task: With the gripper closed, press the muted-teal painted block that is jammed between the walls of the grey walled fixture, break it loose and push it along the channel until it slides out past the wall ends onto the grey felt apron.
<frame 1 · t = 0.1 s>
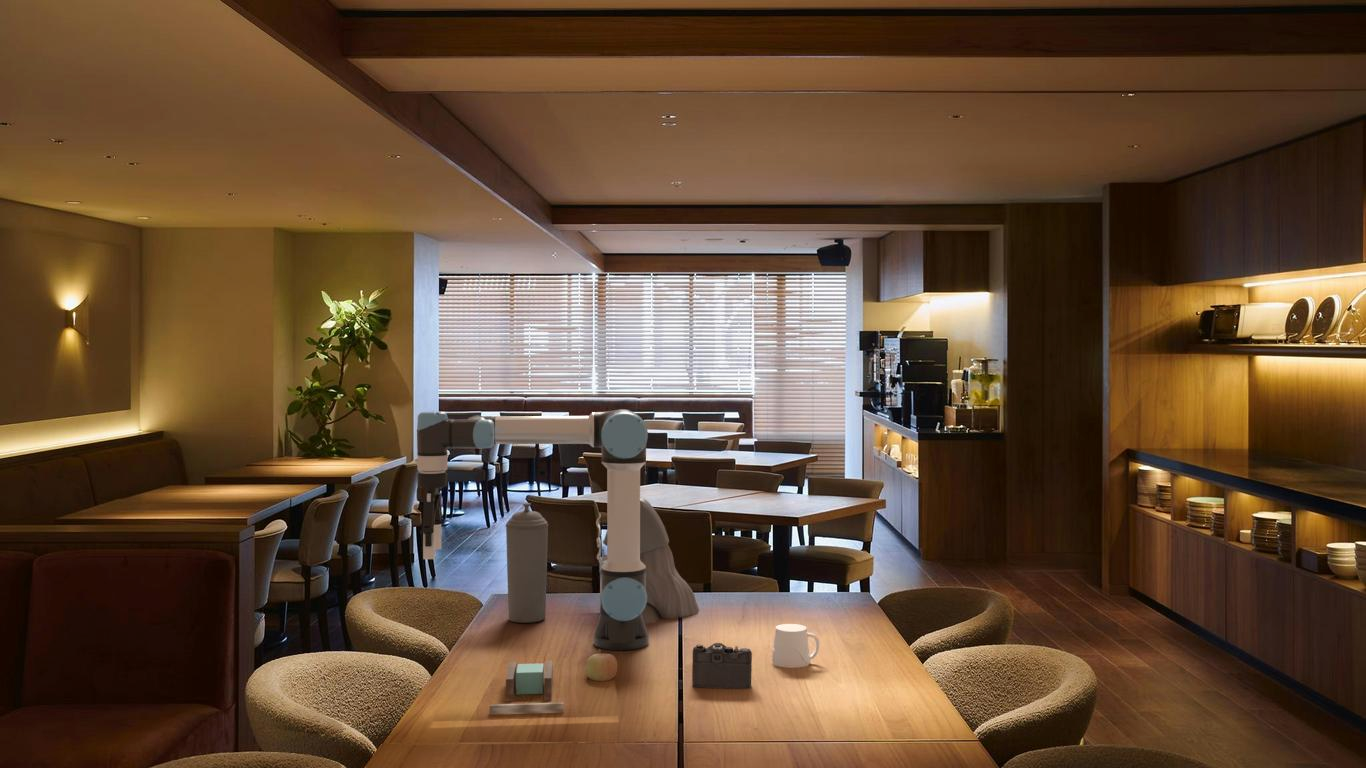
hand: (432, 554, 277), 28 cm above the table, fingers open, 13 cm apart
camera: (722, 683, 261), on the table
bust: (644, 610, 334), on the table
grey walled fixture: (529, 700, 246), on the table
block: (530, 678, 251), point 4 cm above the table, slide at 0.0 cm
canister: (527, 620, 322), on the table
mug: (795, 664, 277), on the table
fruit: (602, 682, 261), on the table
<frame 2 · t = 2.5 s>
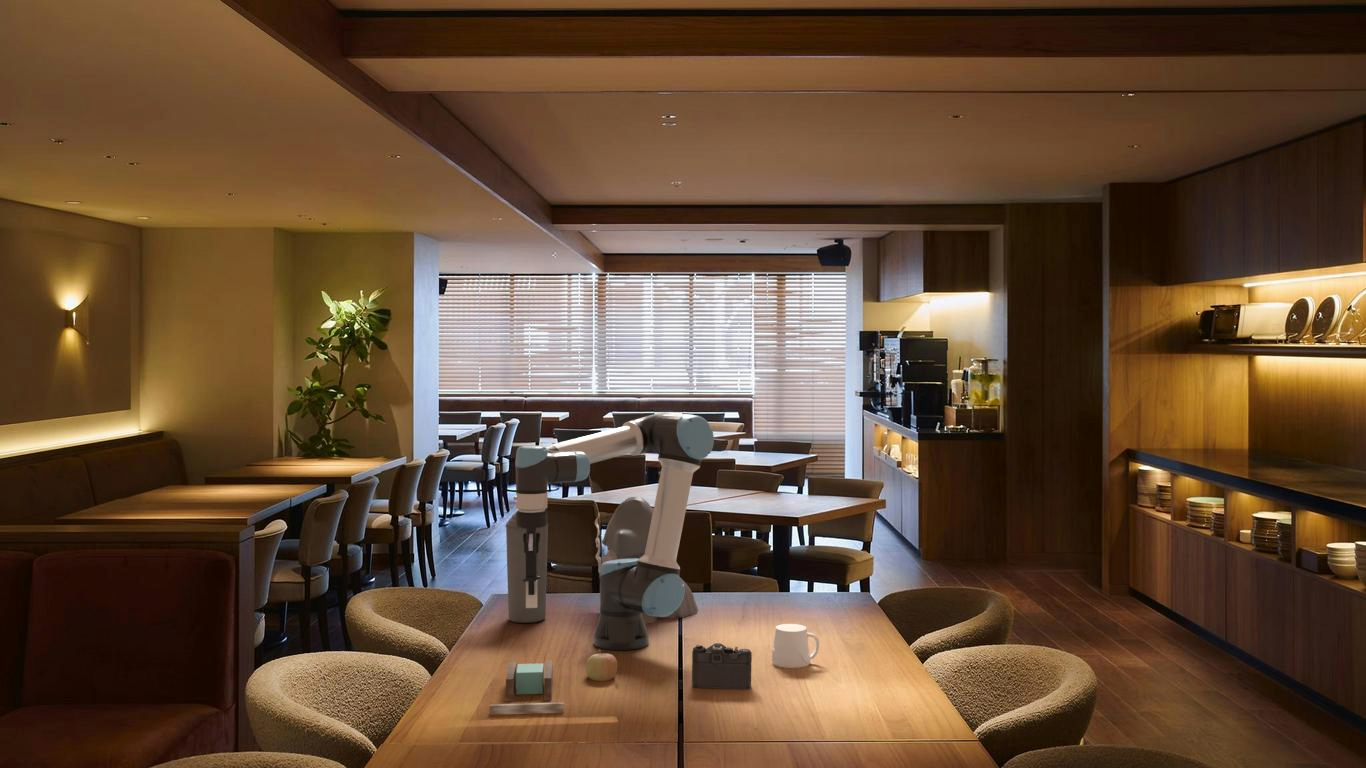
hand: (531, 607, 260), 18 cm above the table, fingers closed
nothing on the table moved.
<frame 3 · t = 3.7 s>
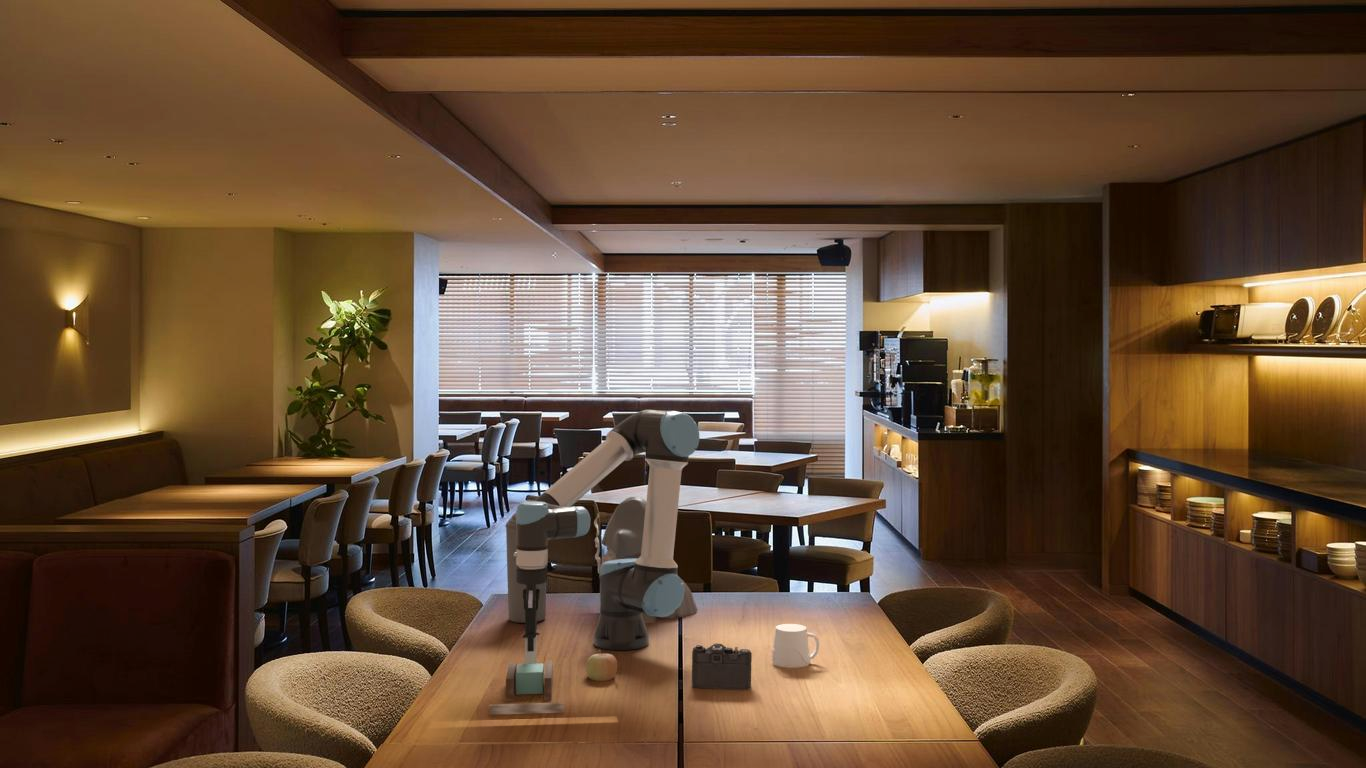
hand: (530, 663, 260), 5 cm above the table, fingers closed
nothing on the table moved.
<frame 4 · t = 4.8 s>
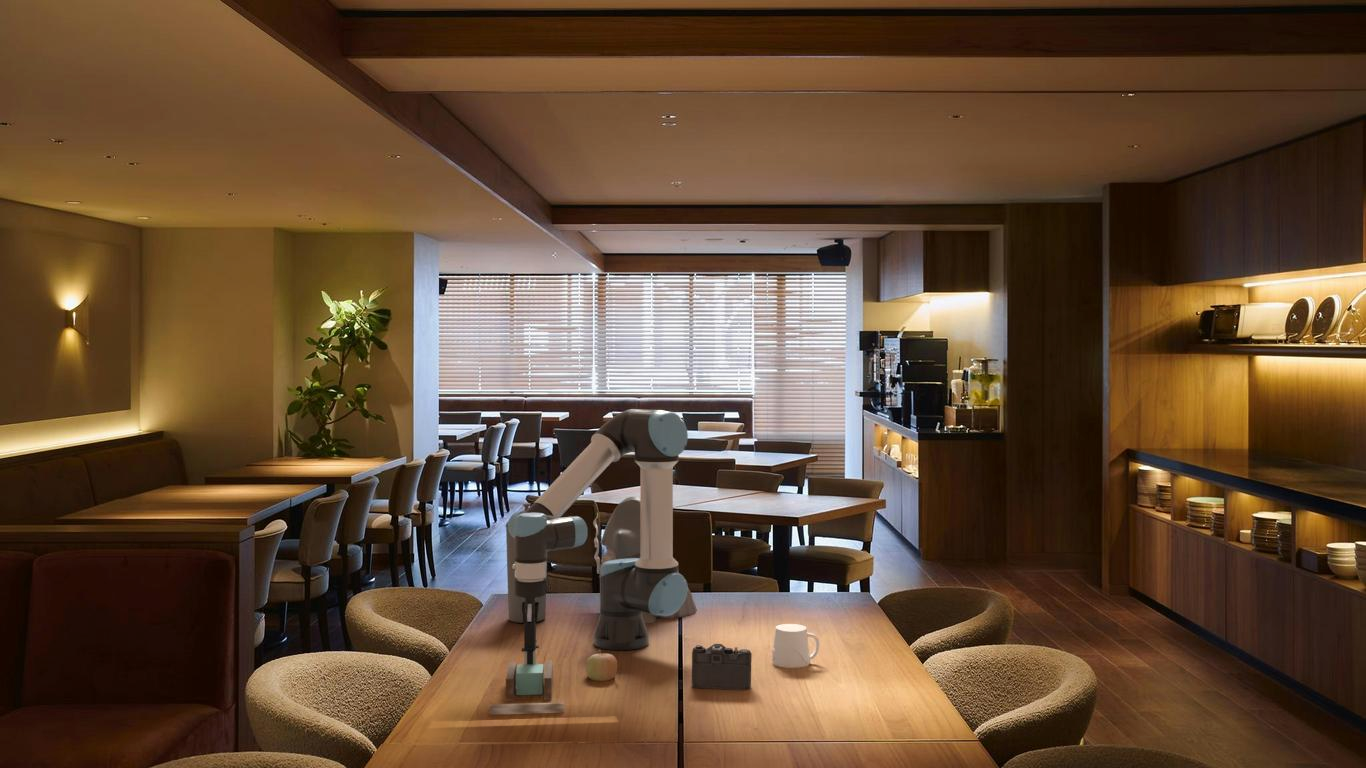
hand: (530, 677, 256), 3 cm above the table, fingers closed
block: (530, 679, 251), point 4 cm above the table, slide at 0.6 cm, touching gripper
everything else where it was.
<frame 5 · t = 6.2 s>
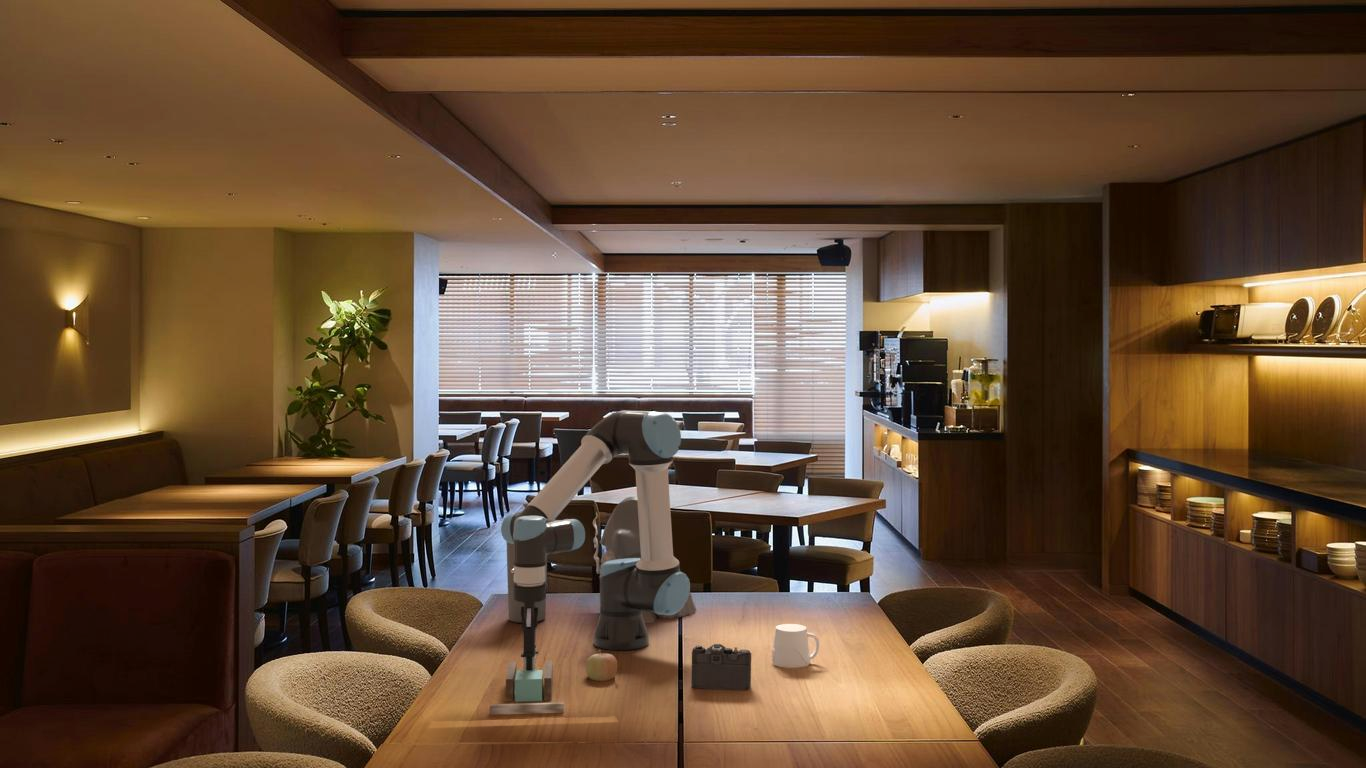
hand: (529, 683, 251), 3 cm above the table, fingers closed
block: (529, 685, 246), point 4 cm above the table, slide at 5.3 cm, touching gripper
everything else where it was.
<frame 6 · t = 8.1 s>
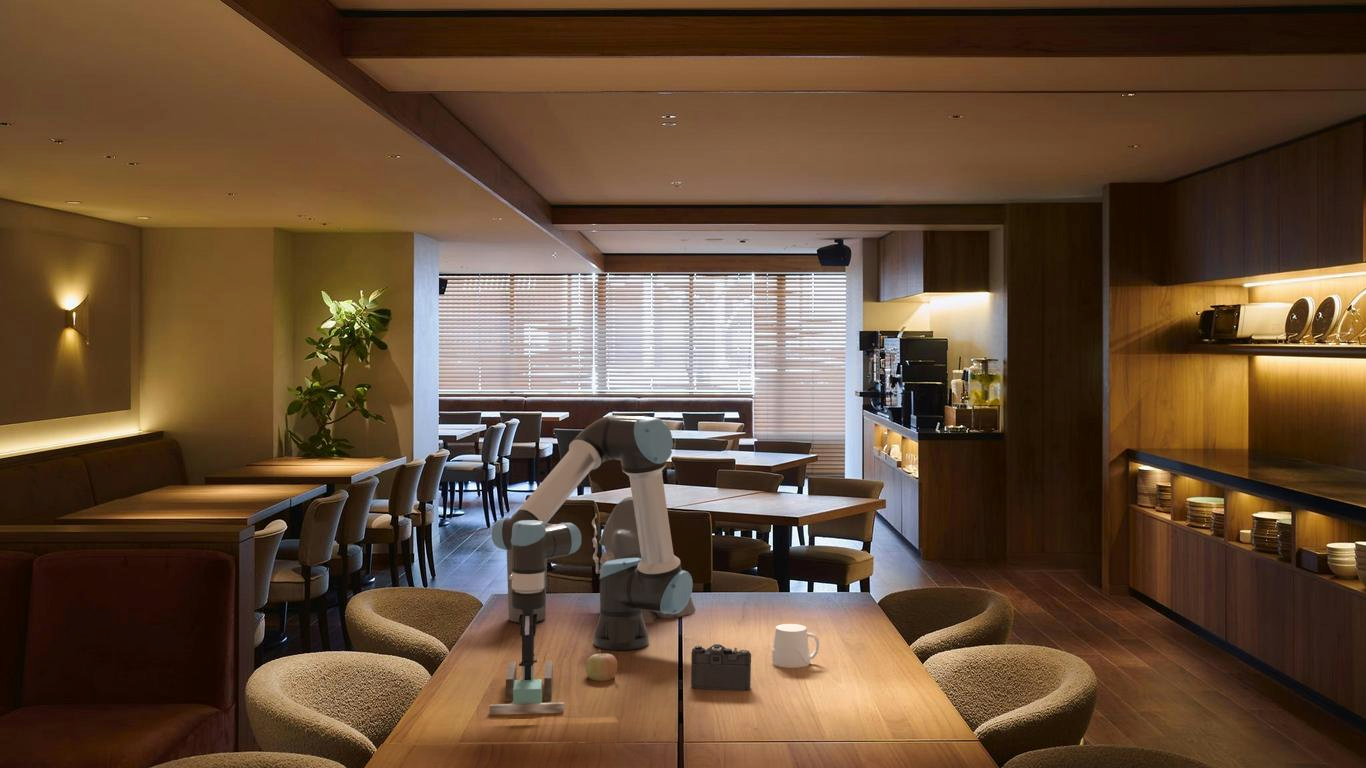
hand: (527, 692, 244), 3 cm above the table, fingers closed
block: (527, 695, 239), point 4 cm above the table, slide at 12.5 cm, touching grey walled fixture, gripper
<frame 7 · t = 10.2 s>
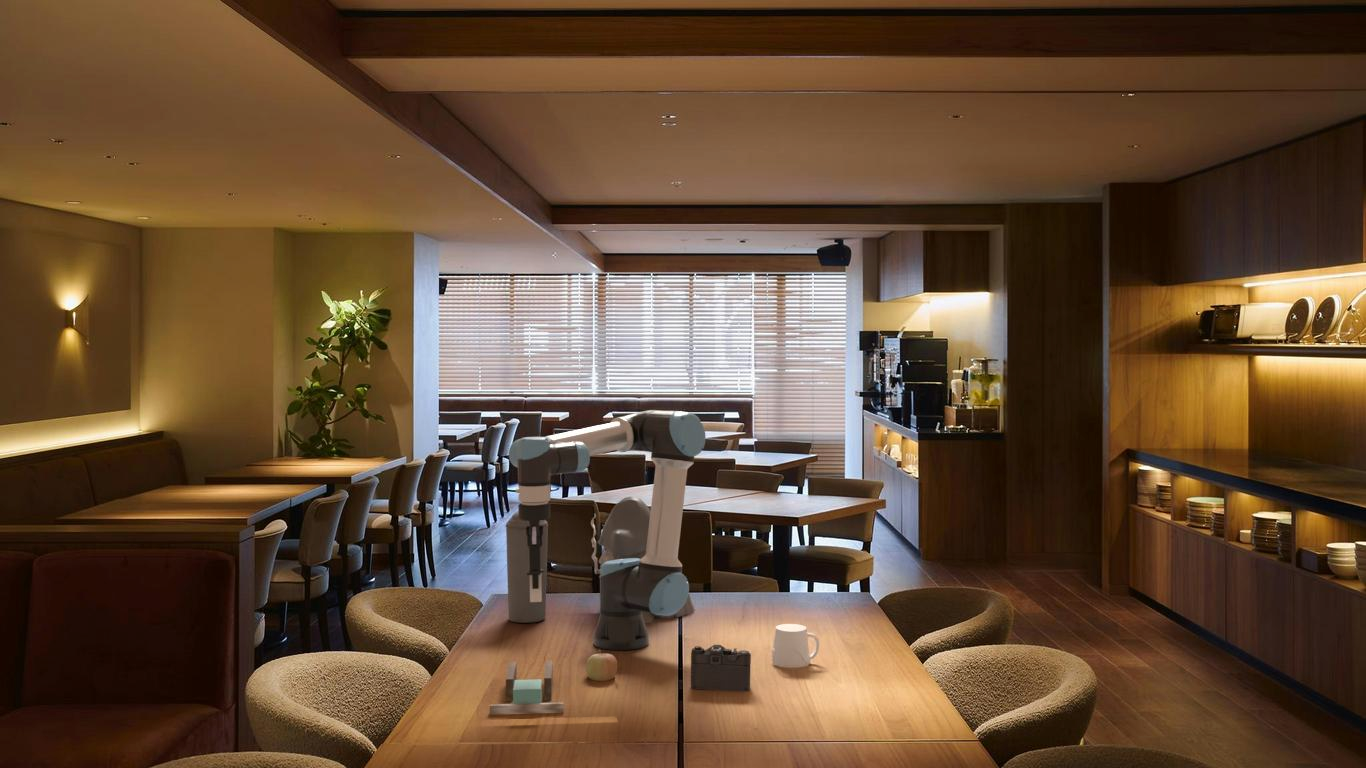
hand: (535, 601, 255), 21 cm above the table, fingers closed
block: (527, 695, 239), point 4 cm above the table, slide at 12.5 cm
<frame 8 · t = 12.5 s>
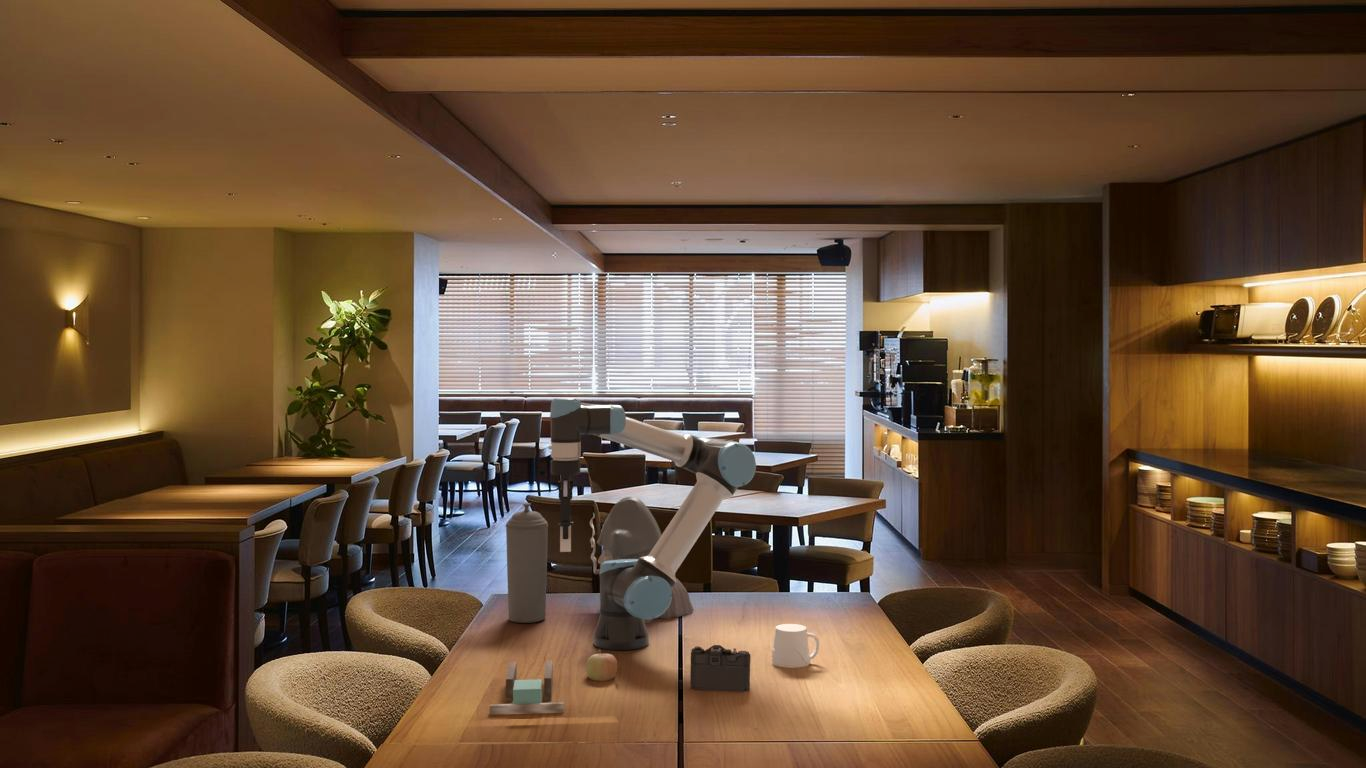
hand: (565, 551, 273), 29 cm above the table, fingers closed
at the end: block slide at 12.5 cm; block inside the target area (0.8 cm from its centre), point 3.6 cm above the table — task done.
